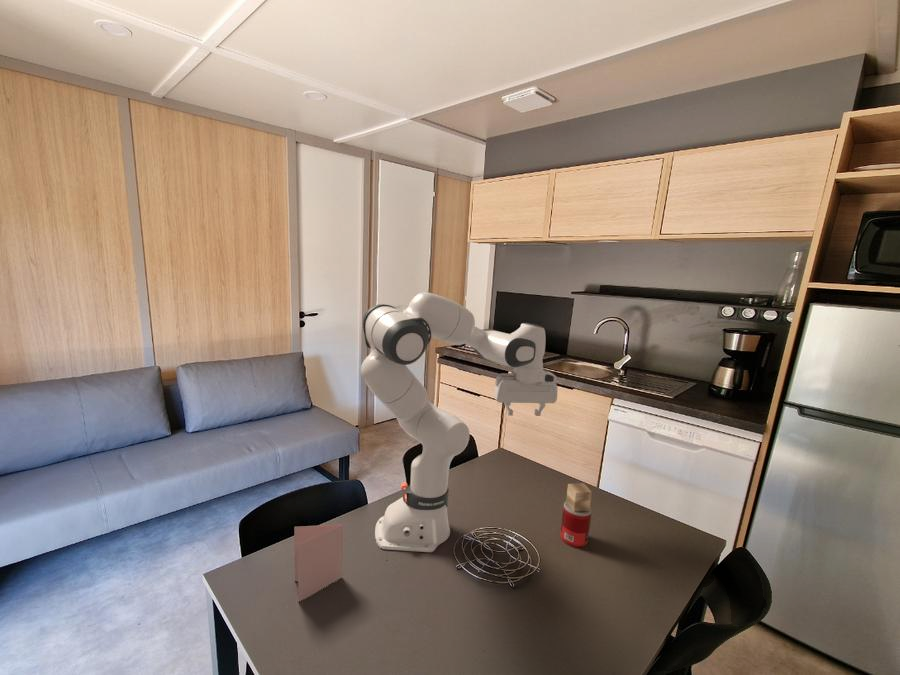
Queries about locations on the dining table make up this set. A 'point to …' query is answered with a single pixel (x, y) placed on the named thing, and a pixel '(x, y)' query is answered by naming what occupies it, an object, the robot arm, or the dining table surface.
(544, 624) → the dining table surface
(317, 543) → the greeting card
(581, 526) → the canned food
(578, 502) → the oak block
